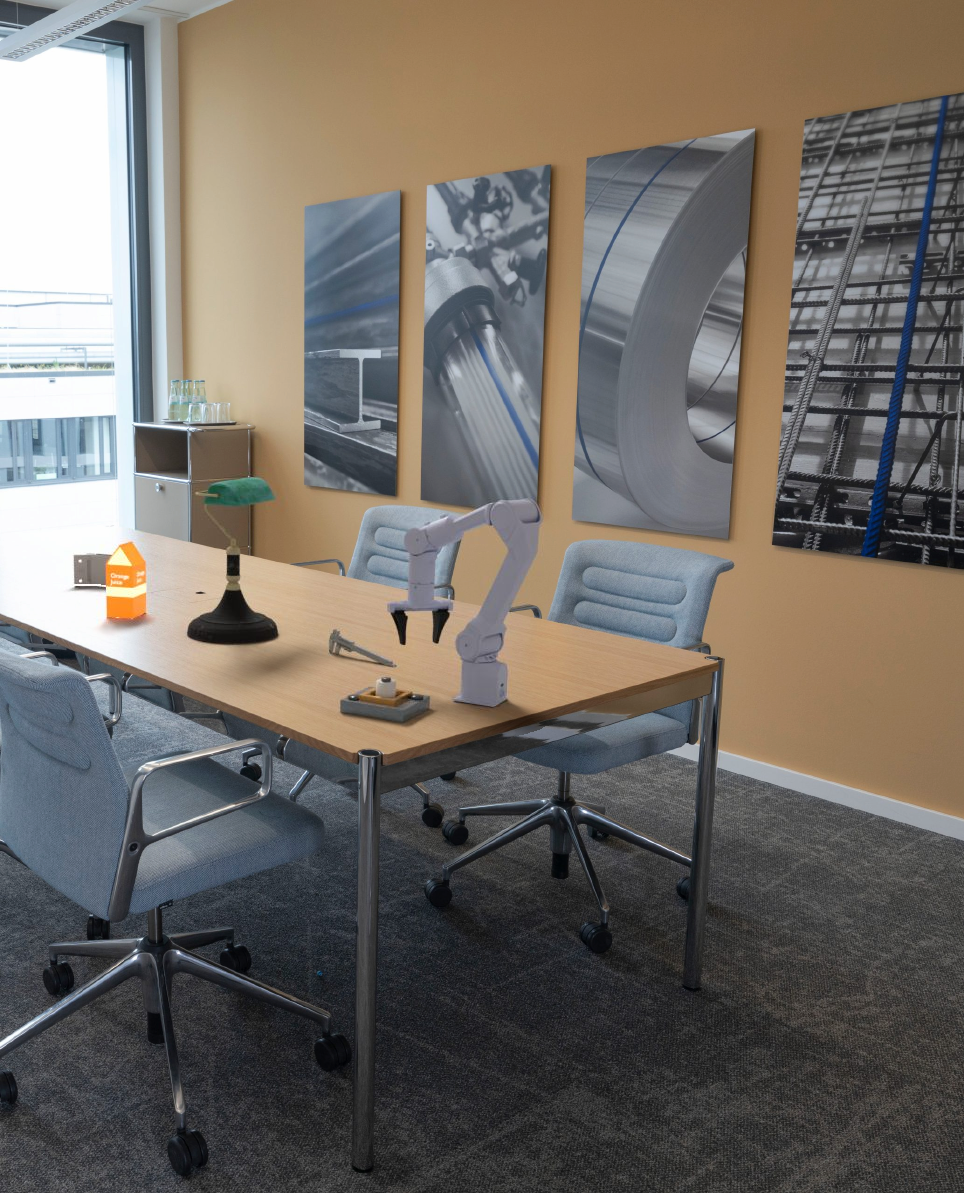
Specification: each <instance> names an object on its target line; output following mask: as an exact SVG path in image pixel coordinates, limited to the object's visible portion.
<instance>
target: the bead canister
mask: <svg viewBox="0 0 964 1193" xmlns="http://www.w3.org/2000/svg"><path fill="white" fill-rule="evenodd" d="M375 687H376V696H378V697H384V698H390V699H393V698H395V697H396V689H397V681H396V680H395V679H393V678H391V677H388V676H383V677H381V678H378V679H376V681H375Z"/></svg>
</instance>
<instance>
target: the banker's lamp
mask: <svg viewBox="0 0 964 1193" xmlns="http://www.w3.org/2000/svg"><path fill="white" fill-rule="evenodd" d="M194 494H195V496H197V497H199V496H200V497H204V499H203V500H204V501H203V505H204V511H205V512H206V513H207V515H208V516H209V517H210V518H211V520H212V521H213V522H214V523H215V524H216V525H217V526H218V528H220V530H221V531H222V532H223V534H224V535H225V536H226V537H227V538H228V539H229V541H230V546H228V547H226V550H225V554H226V575H225V579H226V581H227V582H228V583H226V584H225V585H226V586H225V589H224V592H223V594H222V597H221V599H220V601H219V603H218V604H217V606H216V607H215V608H214V609H213V610H212V611H209V612H205V613H202V614H200V615H199V616H197V617H196V618H193V619H192V620H191V621H190V622H189V624H188V625H187V630H186V635H187V636H188V637H189V638H191V639H193V640H197V641H199V640H200V641H199V642H204V641H205V642H206V643H212V642H214V643H213V644H228V643H229V644H234V643H236V644H251V643H260V642H265V641H267V640H268V641H269V640H272V639H274V638H275V637H276V636H278V635H279V631H278V626H277V623H276V622H275V620H273V619H272V618H270V617H269V616H267V615H265V614H263V613H261V612H256V611H254V610H253V609H252V608H251V607H250V606H249V604H248V602H247V600H246V598H245V596H244V595H243V591H242V589H241V584H240V583H239V581H240V580H241V571H240V570H241V566H240V565H241V549H240V547H239V546H237V538H234V537H233V536H232V535H231V534H230V533H229V532H228V531H227V530H226V528H225V527H224V526H223V525H222V524H221V523H220V521H218V519H217V518H216V517H215V516H214V514H212V512H210V510H209V508H208V507H209V506H210V505H213V506H226V507H227V506H228V507H244V506H246V507H247V506H250V505H255V504H260V503H261V504H262V503H264V502H269V501H275V500H276V499H277V498H276V495H275V493H274V492H273V490H272V489H271V487H270V486H269V484H268V483H267V482H266V481H265V480H264V479H262V478H260V477H254V476H253V477H251V476H250V477H244V478H237V479H230V480H224V481H223V480H222V481H217V482H215V483H212V484H210V485H209V487H208V488H207V490H202V491H196V492H195V493H194Z"/></svg>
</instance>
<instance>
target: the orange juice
mask: <svg viewBox="0 0 964 1193" xmlns="http://www.w3.org/2000/svg"><path fill="white" fill-rule="evenodd" d="M111 555H112V556H111V558H110V559H109V561H108V562H107V563H106V588H105V596H106V598H105V599H106V602H105V604H106V618H107V617H119V618H118V619H121V618H135V617H137V616H139V615H141V614H143V613H145V612H146V613H147V571H146V570H147V563H146V560H145V559H144V558H143V556H142V554H141V552H139V550H138V548H137V547H136V545H135V544H134V542H133V541H128V542H125V543H122V544H119V545H118V546H117V548H116V549H115V550H114V552H112V554H111ZM139 617H140V616H139ZM137 618H138V617H137ZM135 619H136V618H135Z"/></svg>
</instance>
